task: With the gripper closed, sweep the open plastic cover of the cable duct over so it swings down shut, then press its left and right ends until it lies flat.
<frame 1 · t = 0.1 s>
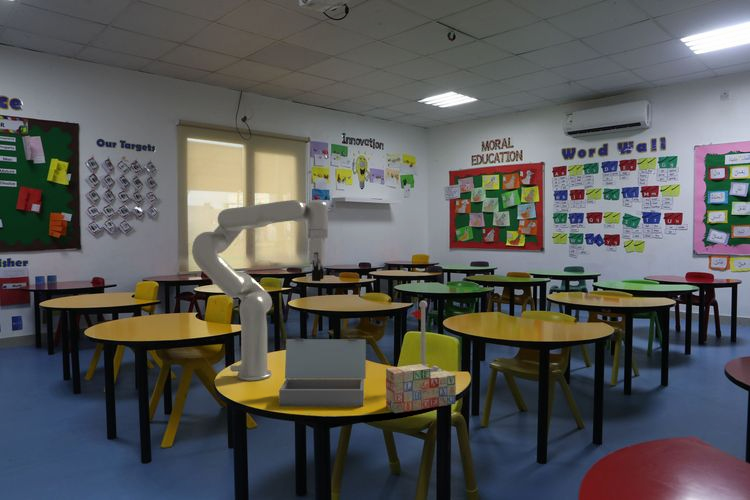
hand: (317, 279, 180), 37 cm above the table, tool pointing down, fingers open, 9 cm apart
cable duct: (323, 399, 153), on the table
duct cover: (325, 358, 161), point 12 cm above the table, hinge at 102.0°
stack of blocks: (421, 406, 148), on the table
flag stand: (423, 384, 171), on the table
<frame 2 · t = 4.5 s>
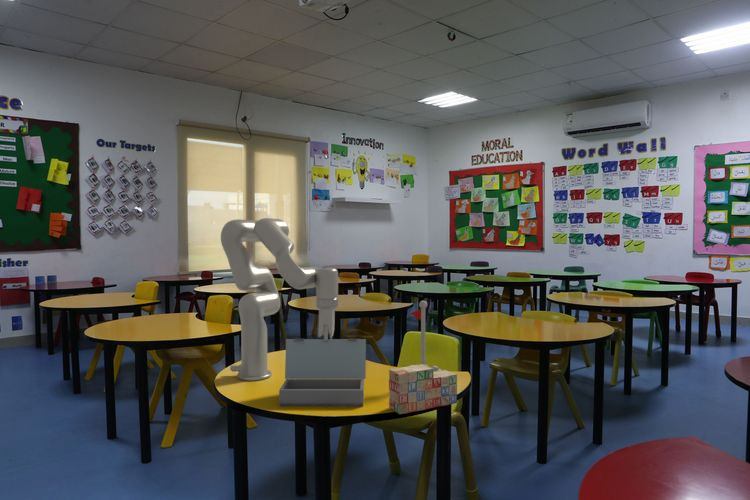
hand: (327, 355, 166), 11 cm above the table, tool pointing down, fingers closed
duct cover: (325, 358, 160), point 12 cm above the table, hinge at 99.6°, touching gripper
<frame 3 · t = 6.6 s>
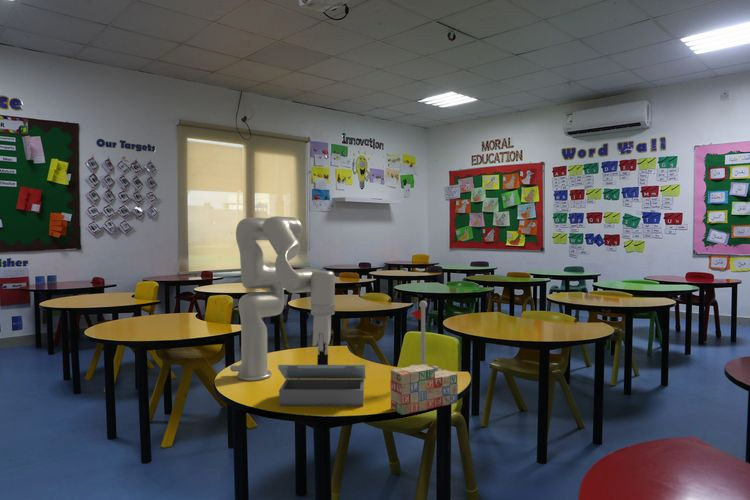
hand: (322, 366, 152), 11 cm above the table, tool pointing down, fingers closed
duct cover: (323, 373, 154), point 8 cm above the table, hinge at 30.3°
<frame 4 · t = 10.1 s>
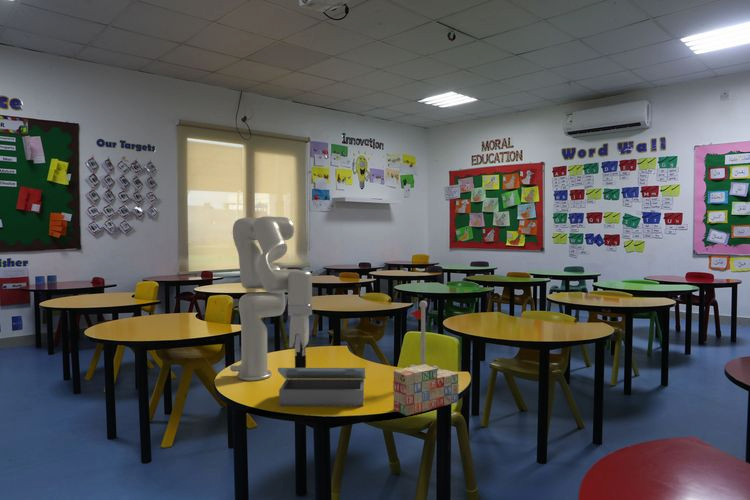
hand: (300, 368, 150), 11 cm above the table, tool pointing down, fingers closed
duct cover: (323, 375, 153), point 8 cm above the table, hinge at 26.3°, touching gripper
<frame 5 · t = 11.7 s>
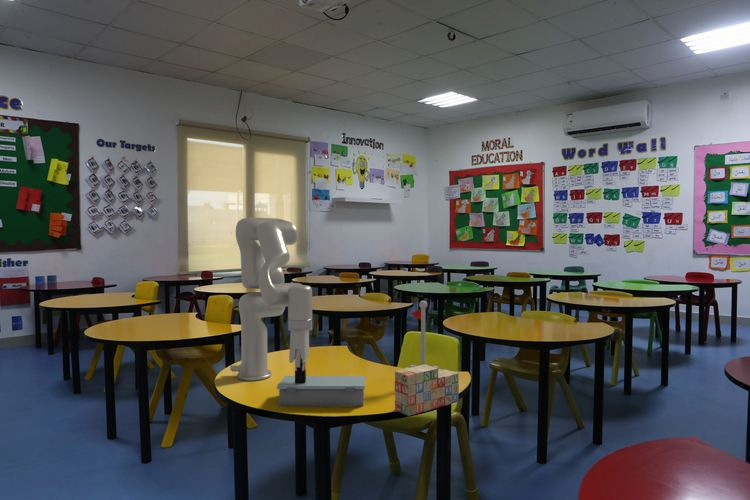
hand: (300, 382, 150), 7 cm above the table, tool pointing down, fingers closed
duct cover: (323, 384, 153), point 5 cm above the table, hinge at 2.1°
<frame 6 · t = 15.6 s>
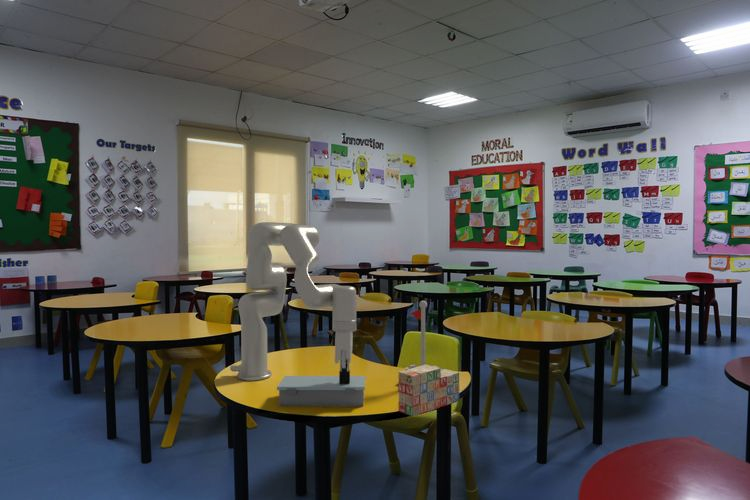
hand: (344, 383, 150), 6 cm above the table, tool pointing down, fingers closed
duct cover: (323, 384, 153), point 5 cm above the table, hinge at 1.0°, touching gripper
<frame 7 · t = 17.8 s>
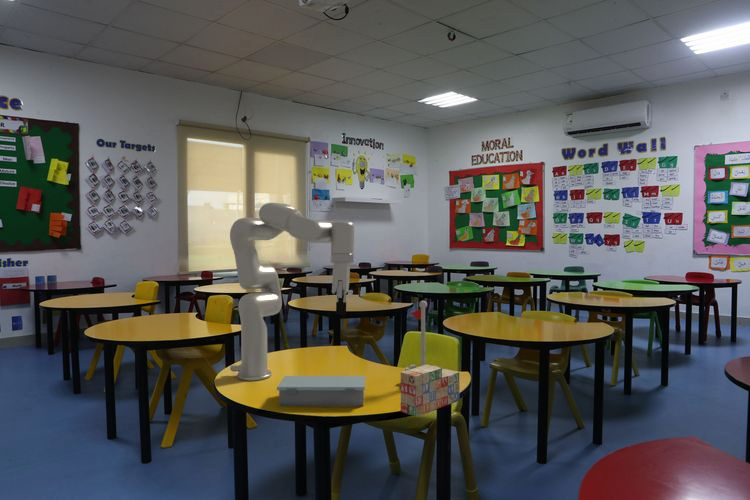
hand: (341, 313, 158), 27 cm above the table, tool pointing down, fingers closed
duct cover: (323, 384, 153), point 5 cm above the table, hinge at 0.8°
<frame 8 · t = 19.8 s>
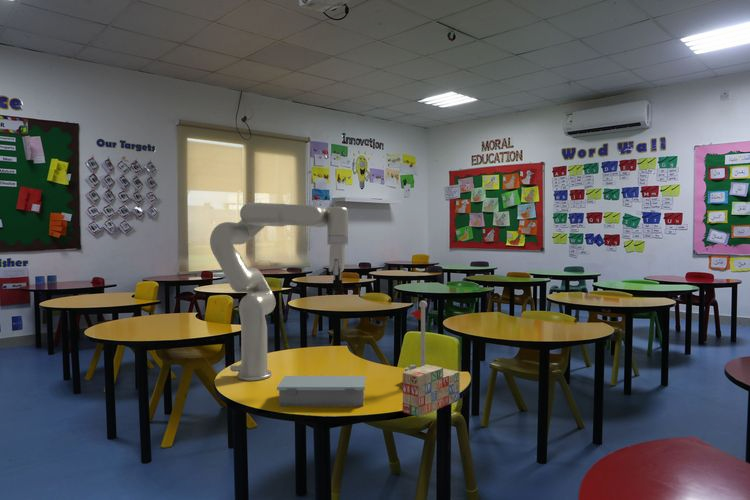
hand: (337, 290, 174), 33 cm above the table, tool pointing down, fingers closed
at the end: duct cover at +1° (first picture: +102°) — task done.
